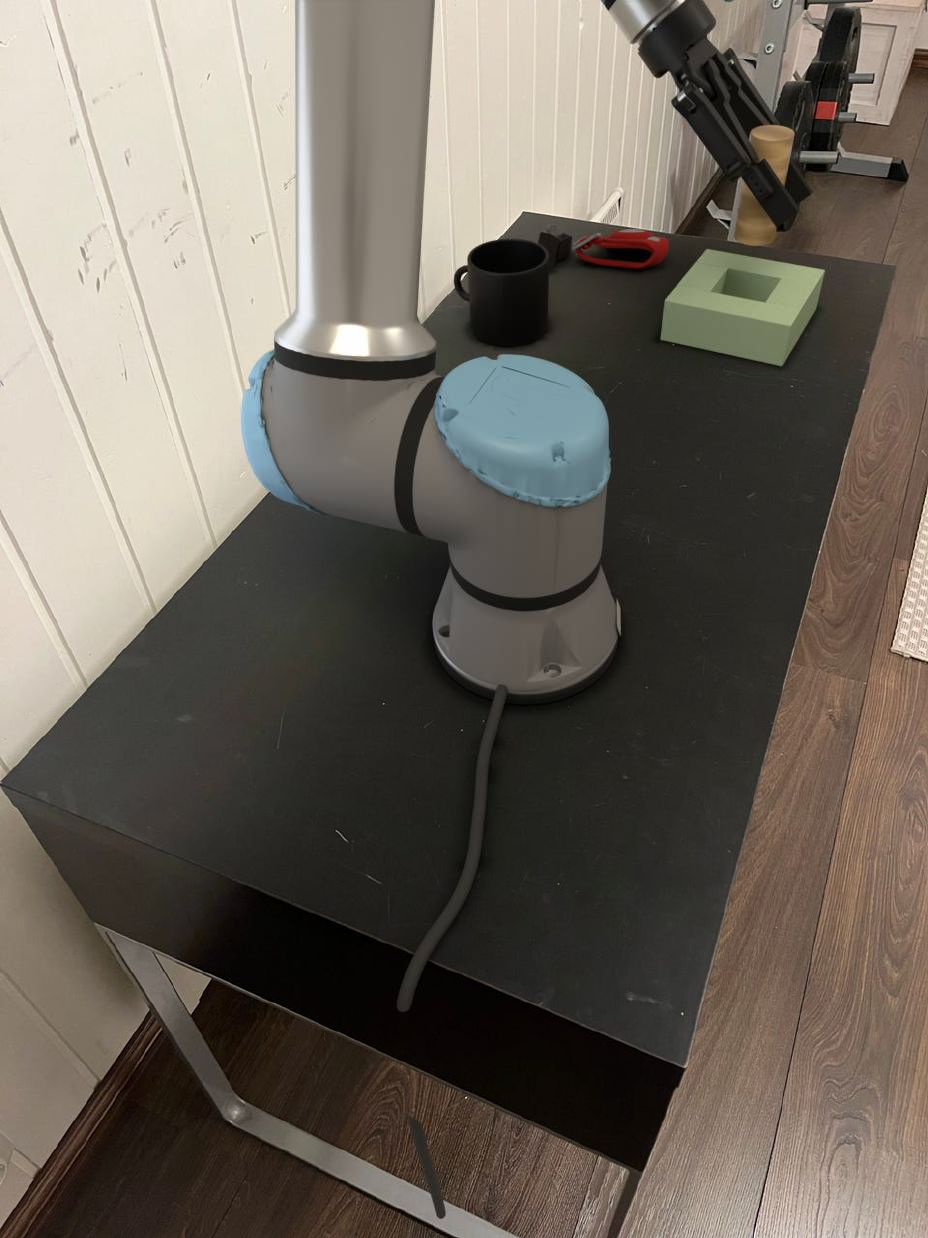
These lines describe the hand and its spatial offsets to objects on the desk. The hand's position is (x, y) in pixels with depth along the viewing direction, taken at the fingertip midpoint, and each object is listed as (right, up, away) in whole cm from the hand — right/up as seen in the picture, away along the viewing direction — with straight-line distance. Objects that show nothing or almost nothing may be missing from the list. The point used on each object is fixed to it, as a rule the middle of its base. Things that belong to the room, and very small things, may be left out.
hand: (794, 209), depth 101 cm
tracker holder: (-15, +5, +26) cm, 30 cm away
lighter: (-25, +2, +22) cm, 34 cm away
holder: (-3, -9, +11) cm, 15 cm away
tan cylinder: (-3, -1, +4) cm, 5 cm away
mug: (-31, -8, +14) cm, 35 cm away
